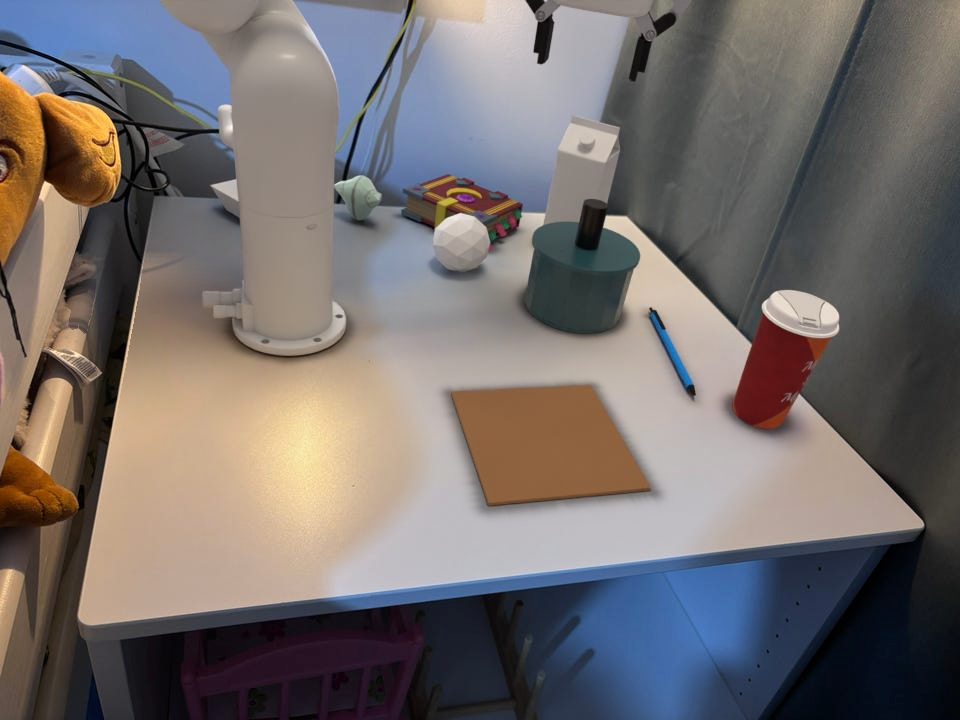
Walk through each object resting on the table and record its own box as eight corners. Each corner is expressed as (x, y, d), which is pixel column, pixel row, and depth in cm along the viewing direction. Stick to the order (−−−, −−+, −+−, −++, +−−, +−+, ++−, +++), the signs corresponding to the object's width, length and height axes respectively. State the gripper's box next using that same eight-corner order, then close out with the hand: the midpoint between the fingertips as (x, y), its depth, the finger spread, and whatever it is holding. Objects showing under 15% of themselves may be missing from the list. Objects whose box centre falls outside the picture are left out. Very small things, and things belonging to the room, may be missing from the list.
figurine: (246, 229, 101) (240, 122, 92) (207, 206, 105) (197, 102, 97) (288, 217, 106) (286, 114, 97) (249, 195, 110) (244, 95, 102)
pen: (652, 311, 96) (655, 304, 96) (698, 400, 81) (700, 392, 80) (646, 310, 96) (648, 303, 95) (690, 399, 81) (693, 391, 80)
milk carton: (555, 230, 114) (580, 110, 103) (597, 244, 112) (627, 122, 101) (538, 246, 109) (563, 120, 98) (582, 260, 106) (612, 133, 96)
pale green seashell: (329, 216, 108) (329, 173, 104) (345, 208, 111) (345, 165, 107) (374, 231, 105) (376, 188, 102) (389, 222, 109) (392, 180, 105)
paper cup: (797, 442, 77) (852, 333, 69) (725, 426, 78) (771, 316, 70) (786, 399, 83) (835, 295, 75) (719, 385, 84) (761, 280, 76)
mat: (488, 506, 64) (488, 502, 63) (450, 394, 76) (451, 391, 76) (650, 490, 68) (651, 487, 68) (589, 387, 80) (590, 384, 80)
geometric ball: (467, 290, 100) (487, 266, 93) (416, 263, 99) (433, 237, 92) (486, 248, 103) (506, 221, 96) (437, 221, 102) (454, 192, 95)
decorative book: (445, 198, 119) (448, 169, 116) (526, 231, 112) (531, 201, 109) (400, 216, 111) (402, 185, 108) (484, 253, 104) (489, 221, 101)
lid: (550, 280, 83) (561, 227, 79) (517, 229, 94) (526, 180, 90) (656, 279, 87) (671, 229, 83) (613, 230, 97) (625, 183, 93)
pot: (541, 334, 88) (554, 273, 83) (513, 283, 98) (523, 226, 93) (634, 332, 91) (651, 273, 87) (598, 283, 101) (612, 227, 96)
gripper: (525, -141, 64) (499, 62, 73) (722, -112, 61) (668, 93, 71) (540, -138, 70) (514, 49, 79) (720, -112, 67) (670, 77, 77)
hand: (587, 70), depth 75 cm, fingers open, 9 cm apart
